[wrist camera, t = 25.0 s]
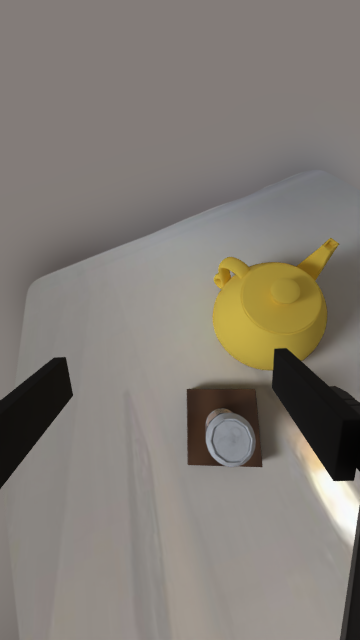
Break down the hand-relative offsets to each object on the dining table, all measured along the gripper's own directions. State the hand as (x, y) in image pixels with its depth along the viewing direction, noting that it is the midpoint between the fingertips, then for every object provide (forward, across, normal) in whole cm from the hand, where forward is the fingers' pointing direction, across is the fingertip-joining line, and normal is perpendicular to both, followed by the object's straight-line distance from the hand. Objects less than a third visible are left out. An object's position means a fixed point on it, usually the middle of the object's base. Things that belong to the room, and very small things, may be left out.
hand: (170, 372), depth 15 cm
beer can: (+15, +6, -17) cm, 23 cm away
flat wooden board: (+17, +6, -18) cm, 25 cm away
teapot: (+27, +14, -3) cm, 30 cm away
